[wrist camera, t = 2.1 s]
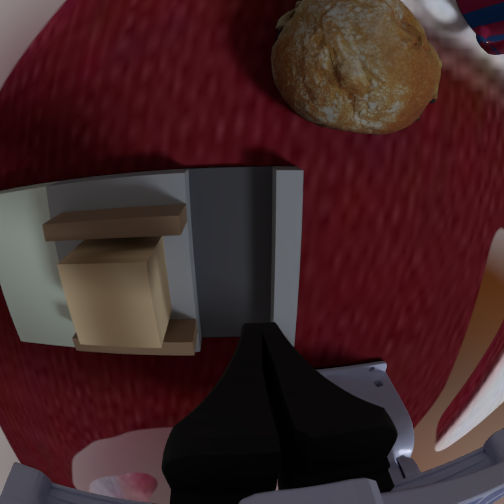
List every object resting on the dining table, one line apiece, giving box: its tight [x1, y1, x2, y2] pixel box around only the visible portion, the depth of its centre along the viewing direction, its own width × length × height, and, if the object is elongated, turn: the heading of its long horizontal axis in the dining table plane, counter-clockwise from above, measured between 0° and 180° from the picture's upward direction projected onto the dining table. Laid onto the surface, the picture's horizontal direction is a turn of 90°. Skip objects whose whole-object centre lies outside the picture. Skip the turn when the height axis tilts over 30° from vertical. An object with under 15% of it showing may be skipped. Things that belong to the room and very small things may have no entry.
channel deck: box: [0, 166, 303, 355], centre depth 19 cm, size 22×12×4 cm, turn 90°
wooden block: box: [57, 236, 172, 348], centre depth 17 cm, size 5×5×4 cm
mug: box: [457, 0, 504, 55], centre depth 12 cm, size 7×10×7 cm
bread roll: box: [271, 0, 442, 135], centre depth 15 cm, size 10×10×8 cm
